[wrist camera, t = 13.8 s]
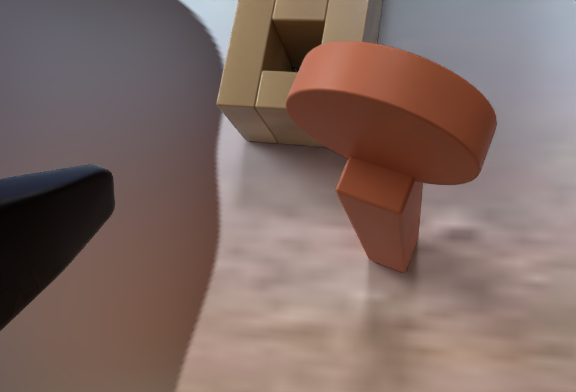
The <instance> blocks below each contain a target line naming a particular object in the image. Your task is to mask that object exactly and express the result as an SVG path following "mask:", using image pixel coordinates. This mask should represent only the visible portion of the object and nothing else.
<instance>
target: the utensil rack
mask: <svg viewBox="0 0 576 392" xmlns="http://www.w3.org/2000/svg"><path fill="white" fill-rule="evenodd" d="M382 3H383V0H238V4H237V9H236V14H235V19H234V23H233V28H232V33H231V38H230V42H229V47H228V52H227V56H226V61H225V66H224V71H223V75H222V80H221V85H220V90H219V94H218V99H217V106H218V107H219V108H220V110H221V111H222V112H223V113H224V114H225V116H226V117H227V118H228V119H229V121H230V122H231V123H232V124H233V125H234V127H235V128H236V129H237V130H238V132H239V133H240V134H241V135H242V136H243V138H244V139H245V140H246V141H256V142H268V143H278V142H279V143H282V144H294V145H305V146H317V147H325V146H324V145H322V144H320V143H319V142H317V141H316V140H314V139H313V138H312V137H310V136H309V135H308V134H307V133H305V132H304V131H303V130H302V129H301V128H300V127H298V126H297V125H296V124H295V122H294V121H293V120H292V119H291V117H290V116H289V114H288V112H287V110H286V98H287V96H288V94H289V91H290V89H291V87H292V85H293V82H294V80H295V78H296V76H297V73H298V72H291V69H292V67H294V68H300V67H301V64H302V62H303V60H304V58H305V56H306V55H307V53H309V52H310V51H311V50H312V49H313V48H315V47H317V46H319V45H322V44H326V43H330V42H337V41H359V42H368V43H375V44H377V39H378V31H379V24H380V17H381V10H382Z"/></svg>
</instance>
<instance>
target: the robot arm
mask: <svg viewBox="0 0 576 392" xmlns="http://www.w3.org/2000/svg"><path fill="white" fill-rule="evenodd" d="M114 207H115V199H114V183H113V176H112V173H111V172H110V171H109V170H108V169H105V168H102V167H100V166H97V165H94V164H88V165H81V166H75V167H70V168H63V169H57V170H51V171H44V172H38V173H32V174H26V175H20V176H14V177H8V178H1V179H0V331H1V330H2V329H3V328H4V327H5V326H6V325H7V324H8V323H9V322H10V321H11V320H12V319H14V317H16V315H18V314H19V313H20V312H21V311H22V310H23V309H24V308H25V307H26V306H27V305H28V304H29V303H30V302H31V301H32V300H34V299H35V298H36V297H37V296H38V295H39V294H40V293H41V292H42V291H43V290H44V289H45V288H46V287H47V286H48V285H49V284H50V283H51V282H52V281H53V280H55V279H56V278H57V277H58V276H59V275H60V274H61V272H63V270H65V268H66V267H67V266H68V265H69V264H70V263H71V262H72V261H73V260H74V258H75V257H76V256H77V255H78V254H79V253H80V251H81V250H82V249H83V248H84V247H85V246H86V244H87V243H88V242H89V241H90V240H91V239H92V237H93V236H94V235H95V234H96V233H97V232H98V230H99V229H100V228H101V227H102V226H103V225H104V223H105V222H106V221H107V220H108V219H109V217H110V216H111V215H112V213H113V211H114Z"/></svg>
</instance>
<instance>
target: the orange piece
mask: <svg viewBox="0 0 576 392" xmlns="http://www.w3.org/2000/svg"><path fill="white" fill-rule="evenodd" d="M286 110H287V112H288V114H289V116H290V117H291V119H292V120H293V121H294V122H295V124H296V125H297V126H298V127H300V128H301V129H302V130H303V131H304V132H305V133H307V134H308V135H309V136H310V137H312V138H313V139H314V140H316V141H317V142H319V143H320V144H322V145H324V146H325V147H327V148H329V149H330V150H332V151H334V152H336V153H338V154H340V155H342V156H344V157H346V158H348V160H347V162H346V165H345V167H344V170H343V172H342V175H341V177H340V179H339V182H338V184H337V187H336V193H337V195H338V197H339V199H340V201H341V203H342V205H343V207H344V209H345V211H346V213H347V215H348V217H349V219H350V222H351V224H352V226H353V228H354V230H355V232H356V234H357V236H358V238H359V240H360V242H361V244H362V246H363V248H364V250H365V252H366V254H367V256H368V258H369V259H370V260H372V261H374V262H377V263H379V264H382V265H385V266H387V267H390V268H392V269H395V270H397V271H400V272H403V273H405V272H406V270H407V267H408V265H409V262H410V259H411V257H412V254H413V252H414V249H415V246H416V244H417V241H418V235H419V224H420V212H421V200H422V188H423V183H429V184H438V185H457V184H463V183H467V182H470V181H472V180H474V179H475V178H476V177H477V176H478V175H479V173H480V171H481V169H482V166H483V163H484V160H485V158H486V155H487V152H488V149H489V147H490V144H491V141H492V138H493V136H494V133H495V130H496V126H497V121H496V115H495V112H494V109H493V108H492V106H491V105H490V103H489V101H488V100H487V99H486V98H485V97H484V96H483V95H482V93H480V92H479V91H478V90H477V89H476V88H475V87H474V86H473V85H471V84H470V83H469V82H467V81H466V80H464V79H463V78H462V77H460V76H458V75H457V74H455V73H454V72H452V71H450V70H448V69H446V68H445V67H443V66H441V65H439V64H437V63H435V62H432V61H430V60H428V59H426V58H423V57H421V56H418V55H415V54H413V53H410V52H407V51H404V50H400V49H397V48H393V47H389V46H385V45H380V44H375V43H368V42H359V41H337V42H330V43H326V44H322V45H319V46H317V47H315V48H313V49H312V50H311V51H310V52H309V53H307V55H306V56H305V58H304V60H303V62H302V64H301V67H300V69H299V71H298V73H297V76H296V78H295V80H294V82H293V85H292V87H291V89H290V91H289V94H288V96H287V98H286Z"/></svg>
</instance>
